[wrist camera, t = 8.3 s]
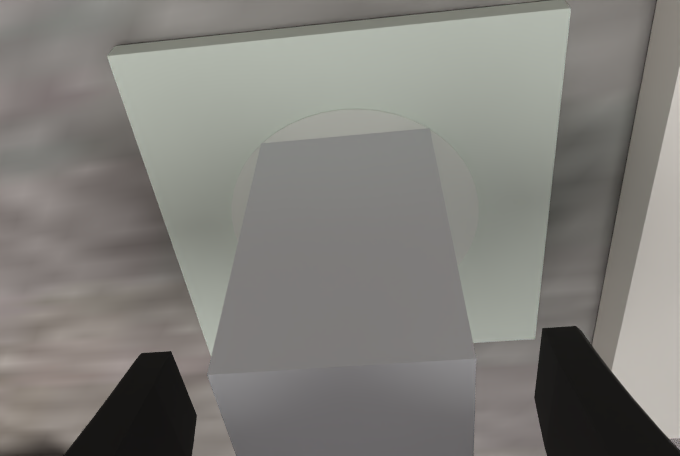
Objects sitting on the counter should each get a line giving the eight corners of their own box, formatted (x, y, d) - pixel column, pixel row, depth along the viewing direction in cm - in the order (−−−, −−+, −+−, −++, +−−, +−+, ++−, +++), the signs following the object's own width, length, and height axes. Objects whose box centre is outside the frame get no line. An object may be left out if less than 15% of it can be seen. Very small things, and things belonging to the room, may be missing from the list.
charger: (433, 272, 17) (472, 518, 12) (290, 283, 18) (262, 527, 12) (429, 128, 15) (476, 358, 9) (261, 143, 15) (206, 375, 9)
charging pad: (530, 324, 20) (535, 341, 19) (215, 345, 20) (211, 361, 20) (563, -2, 14) (571, 9, 13) (115, 46, 14) (105, 57, 14)
